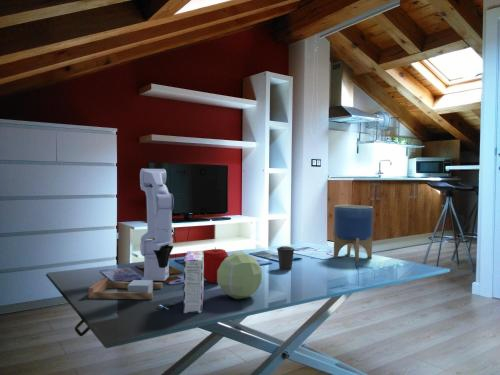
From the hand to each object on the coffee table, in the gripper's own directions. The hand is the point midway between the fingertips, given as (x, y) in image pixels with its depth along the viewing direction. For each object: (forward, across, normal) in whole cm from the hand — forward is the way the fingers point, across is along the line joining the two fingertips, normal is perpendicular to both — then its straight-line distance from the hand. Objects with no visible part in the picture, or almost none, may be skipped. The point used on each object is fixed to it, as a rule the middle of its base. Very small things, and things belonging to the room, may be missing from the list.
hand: (163, 267), depth 140 cm
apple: (+10, -18, +14) cm, 25 cm away
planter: (+10, -76, +74) cm, 106 cm away
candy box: (+10, +11, +14) cm, 20 cm away
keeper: (+10, +1, -8) cm, 13 cm away
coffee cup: (+10, -44, +41) cm, 61 cm away
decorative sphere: (+10, -1, +27) cm, 29 cm away
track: (+9, +1, -12) cm, 15 cm away
